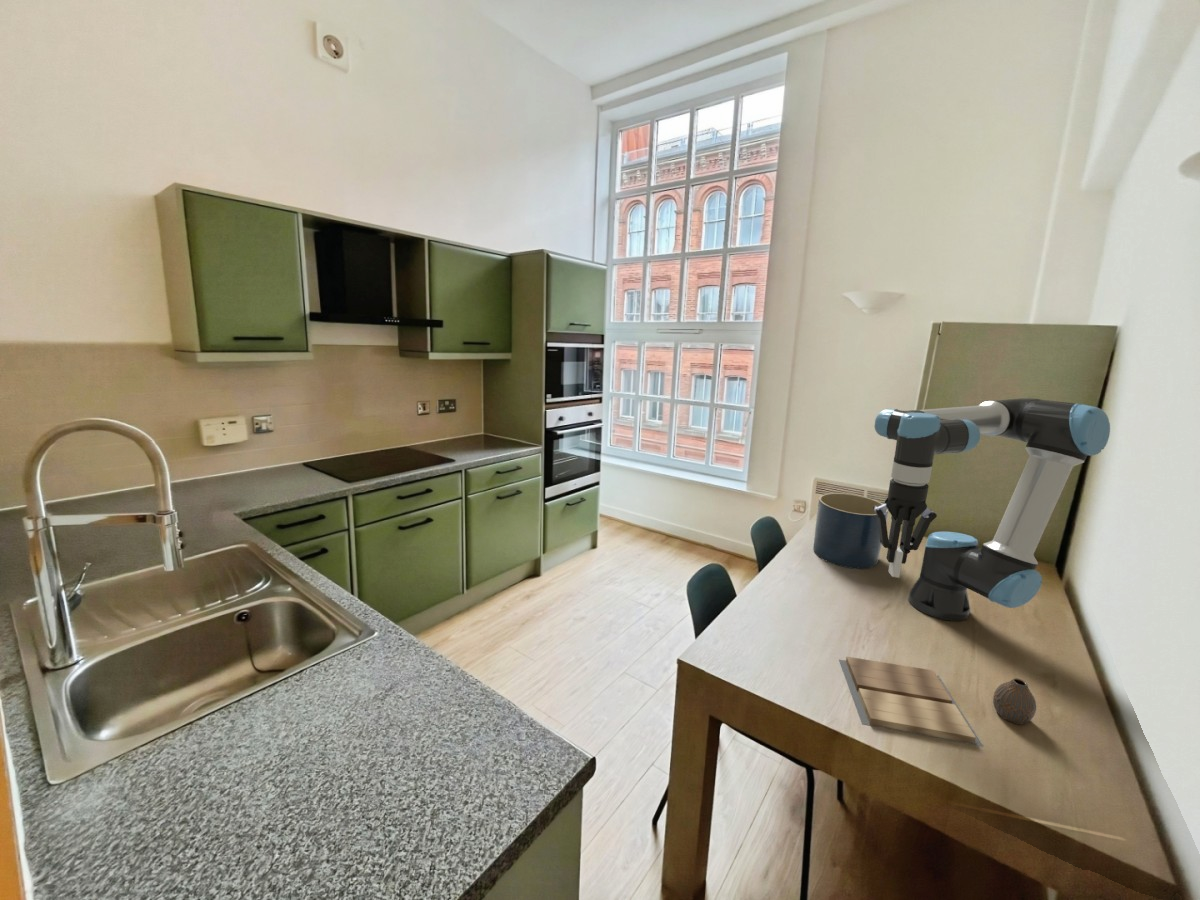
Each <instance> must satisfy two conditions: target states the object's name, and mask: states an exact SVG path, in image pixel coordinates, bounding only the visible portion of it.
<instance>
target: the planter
mask: <svg viewBox="0 0 1200 900" xmlns="http://www.w3.org/2000/svg"><path fill="white" fill-rule="evenodd" d="M883 504H884V503H882V502H880V501H878V500H876V499H874V498H873V499H872V498H870V497H866V496H862V495H858V494H851V493H842V492H841V493H839V492H838V493H837V492H836V493H835V492H834V493H832V492H831V493H825V494H822V495H820V496H819V498H818V504H817V512H816V520H815V521H816V522H815V529H814V538H813V552H814V554H815V555H816V556H817V557H819V558H820V559H822V560H823V561H825V562H827V563H831V564H832V565H836V566H839V567H844V568H848V569H849V568H850V569H858V570H859V569H860V570H863V569H870V568H873V567H875V566H877V565H878V562H879V558H880V553H881V549H882V546H883V545H882V544H881V543H880V537H879V529H878V521H877V515H876V513H875V511H874V510H873V507H874V506H878V507H879V506H881V505H883ZM888 515H889V511H888V509H887V510H886V515H885V518H886V523H888V522H887V520H888Z"/></svg>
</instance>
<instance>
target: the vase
mask: <svg viewBox="0 0 1200 900" xmlns="http://www.w3.org/2000/svg"><path fill="white" fill-rule="evenodd" d="M992 703H993V707H994V709H995V711H996V712H997V714H998V715H999V716H1000V717H1002V718H1003V719H1004V720H1006V721H1008V722H1010V723H1013V724H1016V725H1017V724H1018V725H1022V724H1023V725H1024V724H1027V723H1030V721H1031V720H1033V718H1034V717H1035V714H1036V712H1037V701H1036V699H1035V696H1034V694H1033V693H1032V692H1031V690H1030V688H1029V685H1028V683H1027V682H1025V681H1024V680H1022V679H1020V678H1016V677H1015V678H1014V677H1013V678H1012V679H1011V680H1009V681H1006V682H1003V683H1001V684H1000V685H998V686H997V687H996V689H995V690H994V693H993V697H992Z"/></svg>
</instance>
